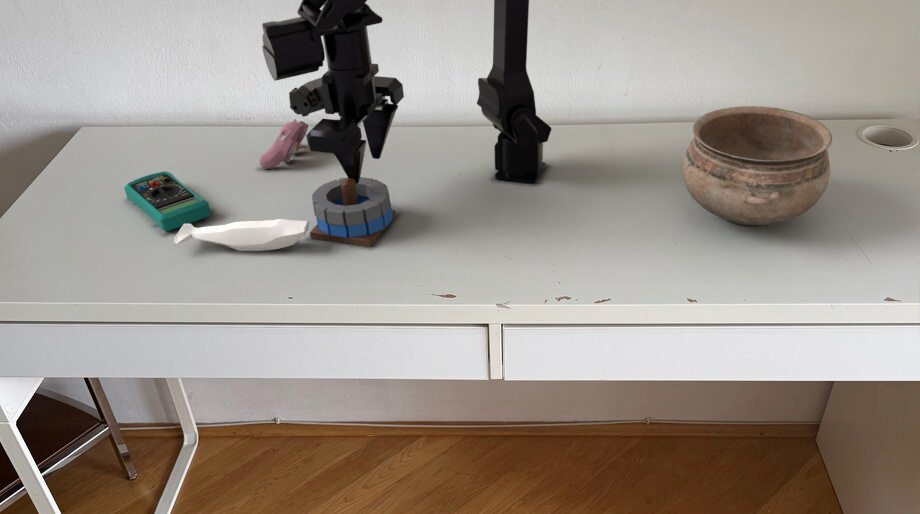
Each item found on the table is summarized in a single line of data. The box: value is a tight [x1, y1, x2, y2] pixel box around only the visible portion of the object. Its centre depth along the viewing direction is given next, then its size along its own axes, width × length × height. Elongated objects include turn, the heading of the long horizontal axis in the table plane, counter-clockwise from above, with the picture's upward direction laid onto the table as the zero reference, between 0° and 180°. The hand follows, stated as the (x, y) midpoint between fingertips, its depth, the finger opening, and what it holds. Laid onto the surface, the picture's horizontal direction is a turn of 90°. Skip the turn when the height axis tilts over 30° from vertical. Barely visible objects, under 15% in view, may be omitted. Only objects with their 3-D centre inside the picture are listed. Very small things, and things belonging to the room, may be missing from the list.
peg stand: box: [309, 177, 397, 248], centre depth 121 cm, size 9×9×7 cm
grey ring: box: [311, 176, 391, 226], centre depth 121 cm, size 10×10×2 cm
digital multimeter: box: [123, 171, 212, 232], centre depth 129 cm, size 7×15×3 cm, turn 39°
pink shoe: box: [258, 118, 309, 170], centre depth 140 cm, size 10×5×7 cm, turn 168°
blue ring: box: [315, 196, 394, 238], centre depth 122 cm, size 10×10×2 cm
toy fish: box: [173, 218, 310, 252], centre depth 118 cm, size 6×18×4 cm, turn 85°
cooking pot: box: [681, 105, 833, 228], centre depth 118 cm, size 25×19×12 cm
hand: (365, 170), depth 123 cm, fingers open, 7 cm apart
